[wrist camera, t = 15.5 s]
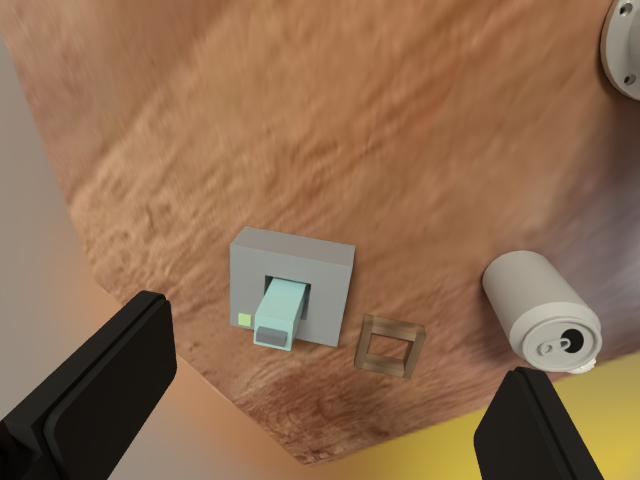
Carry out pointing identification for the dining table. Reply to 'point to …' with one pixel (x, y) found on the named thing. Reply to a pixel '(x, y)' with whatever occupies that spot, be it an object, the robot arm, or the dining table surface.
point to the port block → (293, 264)
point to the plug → (280, 313)
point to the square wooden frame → (393, 330)
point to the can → (541, 312)
